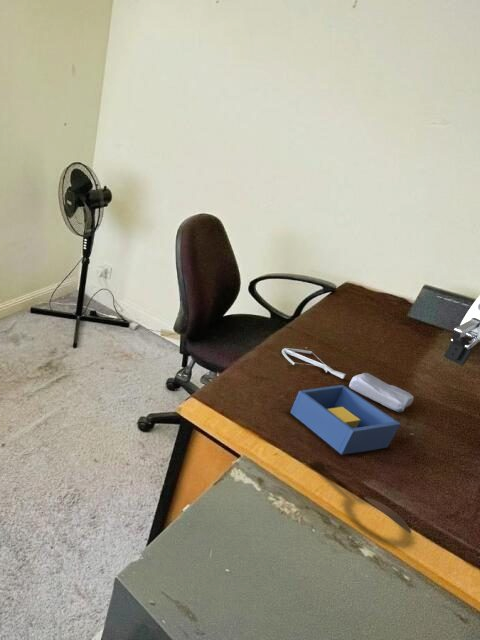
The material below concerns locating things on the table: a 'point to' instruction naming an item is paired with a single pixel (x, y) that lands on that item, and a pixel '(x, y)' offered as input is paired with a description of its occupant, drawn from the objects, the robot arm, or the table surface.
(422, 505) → the table surface
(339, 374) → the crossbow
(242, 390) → the table surface
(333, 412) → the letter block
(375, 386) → the stone block
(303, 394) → the blue storage tray
